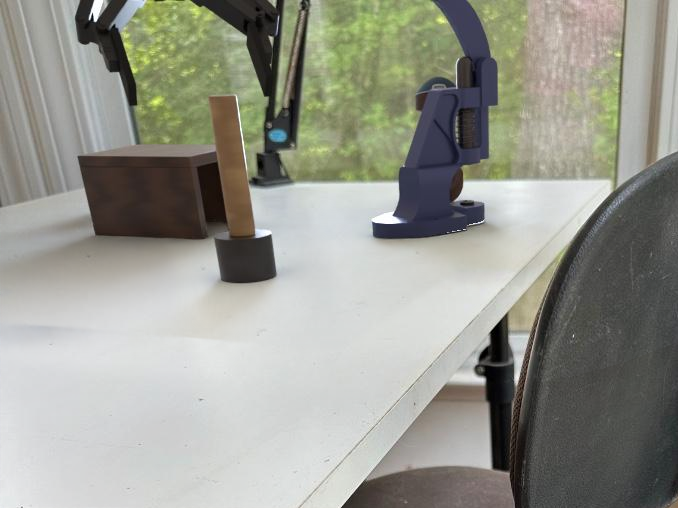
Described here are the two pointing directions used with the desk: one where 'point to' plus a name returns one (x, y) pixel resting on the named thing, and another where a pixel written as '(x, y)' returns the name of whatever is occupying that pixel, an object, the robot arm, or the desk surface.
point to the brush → (237, 202)
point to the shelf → (153, 190)
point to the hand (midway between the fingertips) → (202, 91)
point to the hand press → (447, 139)
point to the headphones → (419, 103)
